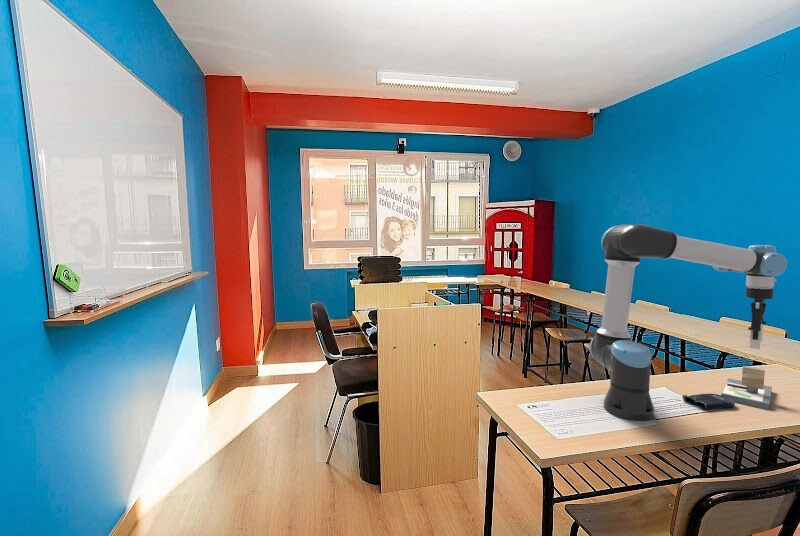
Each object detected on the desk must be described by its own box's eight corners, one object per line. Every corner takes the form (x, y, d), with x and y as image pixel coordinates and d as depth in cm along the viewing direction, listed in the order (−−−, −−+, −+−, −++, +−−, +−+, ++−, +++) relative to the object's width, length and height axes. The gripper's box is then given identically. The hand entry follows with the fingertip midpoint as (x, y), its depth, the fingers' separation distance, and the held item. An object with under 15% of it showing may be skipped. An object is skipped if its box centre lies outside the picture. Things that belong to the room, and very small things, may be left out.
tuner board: (768, 409, 137) (769, 403, 137) (721, 398, 146) (721, 392, 146) (771, 391, 152) (771, 385, 152) (728, 383, 162) (728, 377, 161)
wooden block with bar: (762, 395, 143) (764, 371, 143) (726, 387, 151) (728, 364, 150) (763, 392, 146) (764, 369, 145) (727, 385, 153) (729, 363, 152)
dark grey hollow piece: (708, 417, 135) (742, 407, 138) (705, 401, 135) (739, 391, 138) (683, 409, 144) (715, 399, 147) (680, 394, 144) (713, 385, 147)
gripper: (772, 292, 132) (768, 353, 134) (775, 284, 149) (771, 339, 151) (742, 290, 137) (739, 349, 139) (748, 283, 155) (745, 336, 156)
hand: (756, 344), depth 145 cm, fingers open, 13 cm apart
